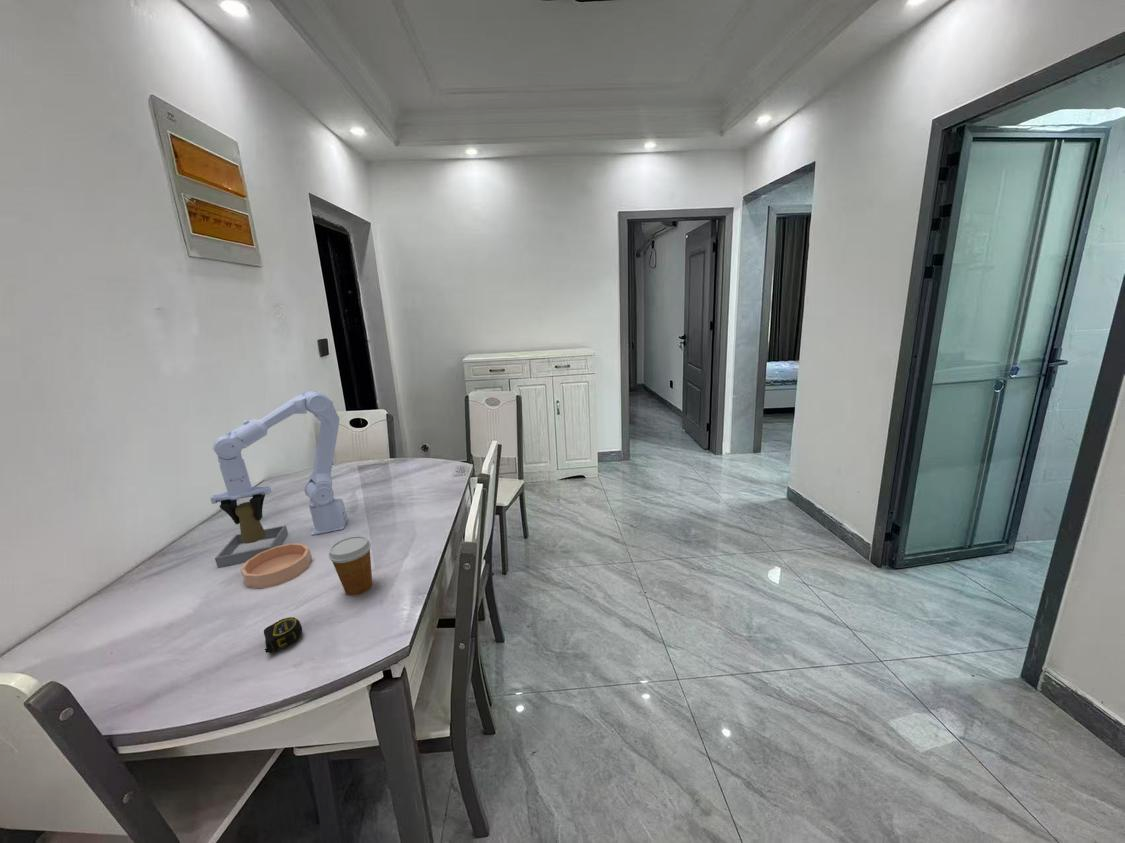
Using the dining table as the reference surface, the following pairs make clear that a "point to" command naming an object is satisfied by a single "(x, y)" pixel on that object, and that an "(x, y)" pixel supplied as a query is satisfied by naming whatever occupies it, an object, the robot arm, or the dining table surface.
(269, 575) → the bowl
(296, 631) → the tape measure
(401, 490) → the dining table surface
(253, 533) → the cork
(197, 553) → the dining table surface
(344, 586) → the disposable coffee cup
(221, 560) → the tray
